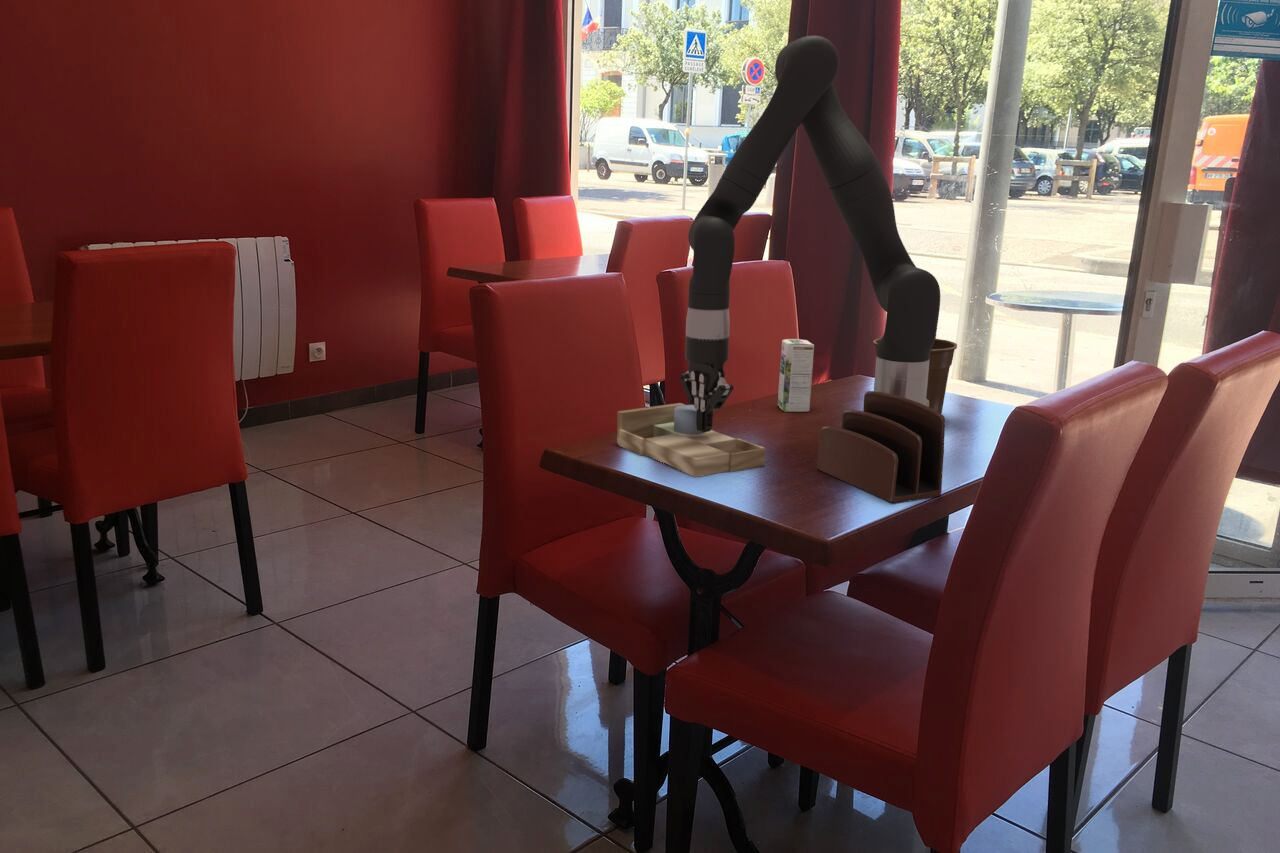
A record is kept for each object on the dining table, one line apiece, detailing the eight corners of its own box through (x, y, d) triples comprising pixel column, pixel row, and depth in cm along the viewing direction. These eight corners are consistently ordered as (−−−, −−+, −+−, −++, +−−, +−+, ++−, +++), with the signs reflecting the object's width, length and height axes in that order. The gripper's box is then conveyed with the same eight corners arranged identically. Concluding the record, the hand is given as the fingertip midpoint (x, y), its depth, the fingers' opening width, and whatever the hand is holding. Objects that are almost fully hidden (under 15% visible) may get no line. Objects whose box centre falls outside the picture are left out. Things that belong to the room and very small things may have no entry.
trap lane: (765, 465, 178) (767, 431, 176) (694, 478, 169) (695, 443, 168) (681, 433, 197) (682, 402, 196) (614, 443, 189) (614, 411, 188)
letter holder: (862, 463, 180) (868, 384, 177) (941, 497, 163) (950, 410, 160) (815, 470, 176) (820, 389, 172) (891, 505, 159) (899, 416, 155)
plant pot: (852, 420, 210) (858, 341, 206) (890, 407, 222) (896, 332, 218) (927, 435, 200) (935, 352, 196) (962, 420, 212) (970, 342, 208)
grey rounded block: (696, 424, 192) (696, 403, 191) (713, 432, 187) (714, 410, 186) (667, 428, 189) (668, 406, 188) (684, 435, 184) (685, 413, 183)
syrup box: (776, 406, 221) (780, 338, 217) (803, 405, 221) (807, 338, 218) (783, 412, 215) (787, 343, 212) (810, 412, 216) (815, 343, 212)
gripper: (749, 337, 176) (744, 436, 180) (701, 326, 186) (698, 420, 190) (714, 341, 171) (710, 442, 176) (667, 329, 182) (664, 425, 186)
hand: (703, 430), depth 183 cm, fingers closed
